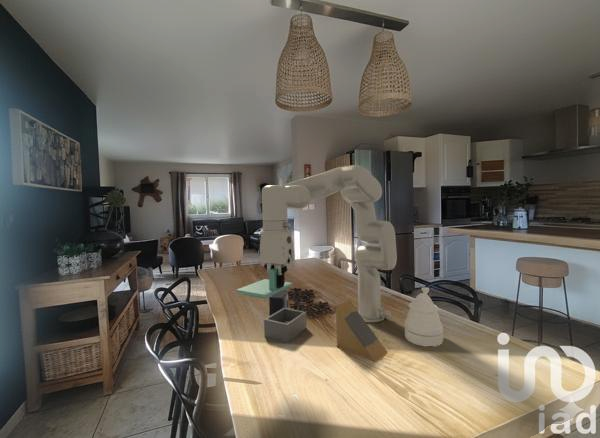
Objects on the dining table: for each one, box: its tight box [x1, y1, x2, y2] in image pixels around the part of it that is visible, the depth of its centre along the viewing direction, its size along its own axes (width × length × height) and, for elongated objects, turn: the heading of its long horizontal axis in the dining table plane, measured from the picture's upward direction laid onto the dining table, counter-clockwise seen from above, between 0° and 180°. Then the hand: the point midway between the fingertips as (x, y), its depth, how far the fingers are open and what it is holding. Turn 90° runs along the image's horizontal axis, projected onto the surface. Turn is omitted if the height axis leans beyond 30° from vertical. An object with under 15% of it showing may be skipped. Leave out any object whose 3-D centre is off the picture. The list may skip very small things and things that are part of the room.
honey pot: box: [404, 286, 444, 347], centre depth 104 cm, size 13×13×18 cm
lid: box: [235, 266, 294, 299], centre depth 89 cm, size 11×14×8 cm
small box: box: [268, 290, 289, 317], centre depth 128 cm, size 11×6×10 cm, turn 168°
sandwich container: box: [335, 299, 388, 363], centre depth 97 cm, size 9×15×15 cm, turn 47°
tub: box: [263, 308, 307, 343], centre depth 110 cm, size 11×14×7 cm
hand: (277, 286), depth 87 cm, fingers closed on lid
